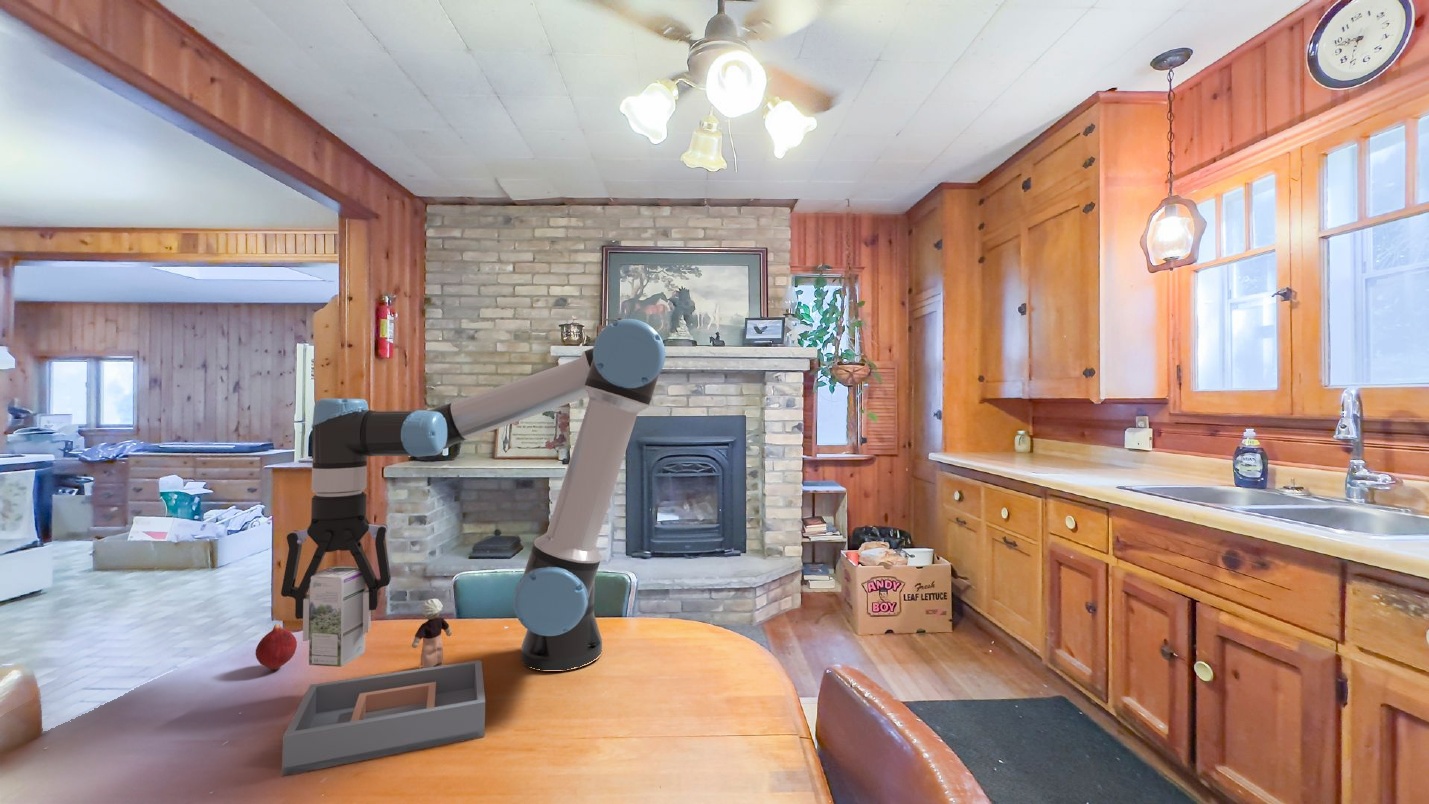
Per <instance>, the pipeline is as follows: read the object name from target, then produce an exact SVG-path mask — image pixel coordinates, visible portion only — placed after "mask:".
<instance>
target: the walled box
mask: <svg viewBox="0 0 1429 804" xmlns="http://www.w3.org/2000/svg"><path fill="white" fill-rule="evenodd" d="M482 664H483V663H482V660H480V659H479V660H473V661H472V660H471V661H466V662H465V661H464V662H457V663H451V664H444V665H443V666H436V667H430V668H423V669H421V668H417V669H411V670H404V671H396V672H389V673H383V674H375V675H367V676H362V677H355V678H348V679H340V680H334V681H327V682H321V683H320V682H319V683H313V684H310V685H309V686H308V688H307V690H306V692H305V694H304V696H303V698H302V700H301V701H300V703H299V705H298V707H297V709H296V712H295V713H294V715H293V717H292V720H290V723H289V725H288V727H287V728H286V731H285V732H284V734H283V736H282V760H281V761H282V762H281V777H284V776H292V775H295V774H301V773H305V772H307V773H308V772H310V771H311V772H312V771H316V770H320V769H321V770H322V769H326V768H332V767H337V766H341V765H345V764H346V765H347V764H348V765H349V764H352V763H358V762H362V761H367V760H372V759H378V758H384V757H388V756H393V755H398V754H404V753H409V752H413V751H419V750H424V749H428V748H434V747H437V746H438V747H440V746H444V745H443V744H445V745H449V744H448V743H450V744H453V743H460V742H463V741H462V740H465V741H469V739H470V740H474V738H475V739H479V738H478V737H480V738H484V737H485V723H486V695H485V687H484V686H485V685H484V684H485V683H484V675H483V665H482ZM458 741H459V742H458Z"/></svg>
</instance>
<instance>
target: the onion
mask: <svg viewBox="0 0 1429 804" xmlns="http://www.w3.org/2000/svg"><path fill="white" fill-rule="evenodd" d="M297 643H298V642H297V639H296V637H295V635H294V634H293V633H292V632H291V631H289V630H288V629H285V628H283V627H282V626H281V624H279V623H275V625H274V626H273V628H272V630H271V631H269V632H268V633H267V634H265V635H264V636H263V637H262V638H261V639H260V641H259V643H258V644H257V646H256V648H255V658H256V659H257V661H258V662H259V664H260V665H262V666H263V667H265V668H268V670H269V669H270V670H272V671H277V670H279V669H280V668H281V667H283V666H284V665H285V664H287V663H288V662H289V661H290V660H291V659H292V658H293V657H294V655H295V653H296V650H297V646H298V645H297Z"/></svg>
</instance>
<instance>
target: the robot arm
mask: <svg viewBox="0 0 1429 804" xmlns="http://www.w3.org/2000/svg"><path fill="white" fill-rule="evenodd" d="M665 361H666V348H665V344H664V342H663V339H662V338H661V335H660V334H659V333H658V332H657V330H655V329H654V328H653V327H652V326H651V325H649V324H648V323H647V322H644V321H641V320H639V319H635V318H623V319H618V320H614V321H613V322H611V323H608V325H606V326H605V327H604V328H603V329H601V331H600V333H599V334H598V335H597V337H596V339H595V341H594V344H593V346H592V348H589V349H586V350H584V351H582V353H581V355H580V357H579V358H577V359H574V360H571V361H568V362H565V363H563V364H559V365H557V366H554V367H551V368H548V369H545V370H542V371H539V372H537V373H534V374H531V375H527V376H525V377H522V378H520V379H516V380H514V381H511V382H507V383H505V384H502V385H499V386H496V387H492V388H491V389H487V390H484V391H482V392H479V393H476V394H473V395H470V396H467V397H465V398H461V399H459V400H455V401H453V402H450V403H448V404H447V403H446V404H444V405H441V406H438V407H435V408H432V409H429V410H428V409H427V410H425V409H424V410H421V409H419V410H381V411H380V410H379V411H378V410H371V409H370V408H369V405H368V401H367V400H366V399H364V398H321V399H319V400H316V402H315V403H314V405H313V413H312V415H313V417H312V424H311V429H312V462H311V463H312V468H311V492H313V493H315V495H312V497H311V506H310V507H311V511H310V512H311V514H310V515H311V516H310V518H311V519H310V523H309V526H308V528H306V529H301V530H295V529H294V530H292V531H291V532H290V533H288V534H287V535H286V540H287V545H288V552H287V553H288V554H287V559H286V564H285V570H284V574H283V581H282V585H281V591H280V595H281V596H282V597H286V598H287V597H290V598H293V599H294V600H295V601H294V602H295V606H294V607H295V611H294V612H295V613H294V615H295V619H296V620H302V642H306V641H307V642H309V609H310V606H309V605H310V593H309V594H308V592H309V591H310V582H311V577H312V576H314V574H315V573H317V572H319V569H320V566H321V564H322V562H323V560H324V557H325V555H326V554H327V553H333V552H336V551H342V552H346V551H349V553H350V555H351V556H352V557H353V559H354V561H355V564H356V565H357V566H356V567H358V568H359V570H360V572H361V574H362V576H363V578H364V580H365V583H366V586H367V588H366V587H365V591H364V593H363V633H365V634H367V633H368V634H369V631H370V629H371V616H372V615H371V614H372V613H371V612H372V611H376V610H377V608H378V606H379V590H380V589H381V588H383V587H387V586H389V585H390V582H391V580H392V576H391V570H390V564H389V563H390V562H389V557H388V550H387V542H386V535H387V531H388V526H387V524H384V523H383V524H381V525H378V524H370V522H369V521H368V518H367V497H368V496H367V494H366V493H365V492H364V491H365V490H366V489H367V488H368V487H367V485H368V483H367V481H368V479H367V476H368V474H367V473H368V472H367V471H368V470H367V469H368V467H367V466H368V457H378V456H379V457H416V458H421V457H429V456H437V455H439V454H441V453H442V452H443V450H446V449H448V448H451V446H453V445H456V444H458V443H461V442H464V441H466V440H469V439H472V438H475V437H478V436H480V435H483V434H486V433H488V432H492V431H495V430H497V429H500V428H503V427H505V426H508V425H512V424H514V423H517V422H520V421H524V420H525V419H529V418H531V417H532V418H533V417H534V416H537V415H540V414H543V413H545V412H549V411H552V410H553V409H557V408H560V407H563V406H565V405H569V404H571V403H574V402H576V401H579V400H582V399H586V398H588V399H589V400H588V403H587V405H586V409H585V413H584V415H583V418H582V421H581V424H580V428H579V431H578V434H577V438H576V440H575V443H574V447H573V449H572V453H571V456H570V459H569V462H568V466H567V467H566V468H567V469H566V472H565V474H564V477H563V481H562V483H561V488H560V491H559V494H558V496H557V500H556V502H555V505H554V509H553V511H552V515H551V518H550V521H549V525H548V527H547V531H546V532H545V533H544V534H543V535H540V536H538V537H537V538H534V539H535V540H534V541H533V545H532V547H531V551H530V554H529V557H528V560H527V563H526V567H525V568H524V573H523V576H522V577H521V578H520V580H519V581H518V583H517V584H516V586H515V589H514V595H513V601H512V603H513V609H514V613H515V615H516V618H517V619H518V622H520V624H521V625H522V626H523V627H524V628H525V629H526V632H525V634H524V635H525V636H524V638H523V641H522V643H521V651H520V660H521V662H523V663H522V664H523V665H524V664H525V665H526V667H527V668H529V667H532V668H535V669H540V670H567V669H571V668H574V667H580V666H582V665H584V664H587V663H589V662H591V661H593V660H594V659H596V658H597V657H598V656H599V655H600V654H601V652H602V653H603V639H602V636H601V632H600V629H599V626H598V623H597V620H596V619H597V618H596V616H595V585H596V584H595V581H596V579H595V578H596V576H597V572H598V569H599V566H600V563H601V559H602V555H601V553H600V552H599V550H598V548H597V542H598V540H599V537H600V534H601V530H602V527H603V524H604V521H605V517H606V514H607V511H608V508H609V505H610V502H611V499H612V497H613V494H614V493H613V491H614V489H615V486H616V482H617V480H618V477H619V474H620V470H621V467H622V464H623V461H624V458H625V454H626V451H627V448H628V444H629V441H630V439H631V435H632V432H633V429H634V426H635V423H636V419H637V416H638V414H639V413H640V412H643V410H646V409H647V408H648V409H649V406H650V404H651V400H652V397H653V395H654V391H655V388H656V385H657V382H658V379H659V376H660V373H661V372H662V370H663V368H664V365H665ZM367 532H369V533H370V537H371V538H372V539H373V540H374V539H375V540H374V543H375V549H376V550H375V552H376V559H377V566H378V570H379V571H378V572H379V578H377V576H376V574H375V571H374V569H373V568H372V566H371V563H370V561H369V559H368V557H367V555H366V552H365V551H364V547H363V545H362V542H361V540H362V539H363V538H364V536H365V535H366V534H367ZM307 537H309V538H310V539H312V541H313V542H314V543H315V544H316V545H317V547H316V549H315V551H314V553H313V556H312V558H311V560H310V563H309V565H308V567H307V569H306V571H305V573H304V575H303V576H302V577H303V578H302V580H301V581H300V584H299V586H296V580H297V576H298V569H299V565H300V560H301V559H300V558H301V553H302V547H303V544H304V543H305V542H306V541H307ZM601 655H602V654H601ZM525 665H524V666H525Z"/></svg>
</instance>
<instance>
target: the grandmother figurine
mask: <svg viewBox="0 0 1429 804" xmlns="http://www.w3.org/2000/svg"><path fill="white" fill-rule="evenodd" d="M443 606H444V605H443V603H442V602H441V601H440V600H439V599H438V598H431V599H428V600H426V602H424V603H423V605H422V613H423V615H424V617H425V618H426V619H427V620H426V621H425V622H423V623H422V624H421V625H420V626H419V627H418V629H417V631H416V633H415V635H414V639H413V642H412V643H411V647H412V648H413V649H415V648H418V647H419V644H420V642H421V640H422V647H421V654H420V655H421V656H420V663H419V664H420V666H422V667H421V668H420V669H423V668H430V667H436V666H443V665H445V664H444V647H443V645H444V644H443V638H442V630H443V631H444V632H445V635H446V636H447V637H450V636H452V634H453V631H452V629H451V627H450V624H449V623H448V622H447V621H446V620H445V619H444V617H439V616H440V614H441V612H442V611H443Z"/></svg>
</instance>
